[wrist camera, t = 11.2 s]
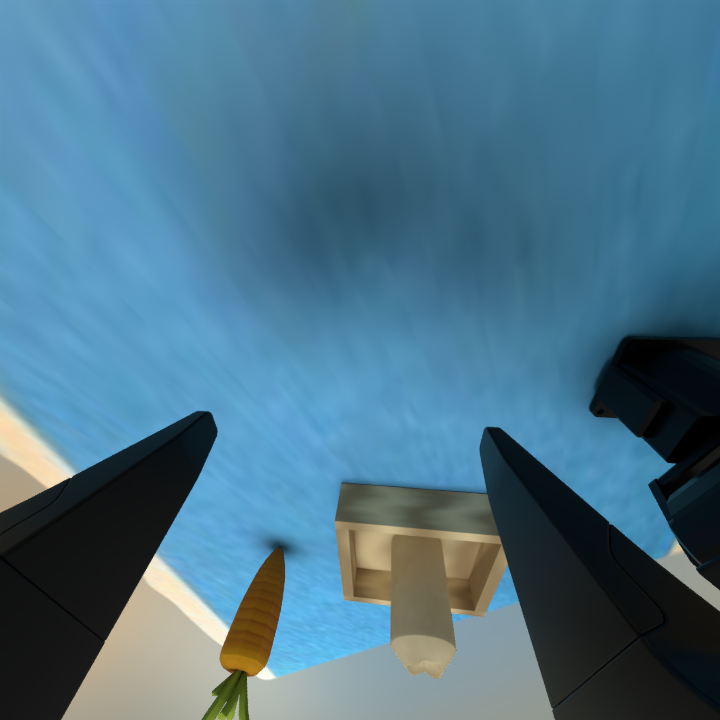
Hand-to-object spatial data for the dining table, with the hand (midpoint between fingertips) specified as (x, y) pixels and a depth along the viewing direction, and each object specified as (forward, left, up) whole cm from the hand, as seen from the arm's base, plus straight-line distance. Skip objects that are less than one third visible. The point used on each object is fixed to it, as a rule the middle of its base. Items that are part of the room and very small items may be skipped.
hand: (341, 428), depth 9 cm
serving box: (-5, +27, -12) cm, 30 cm away
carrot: (+12, +33, -12) cm, 37 cm away
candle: (-5, +27, -11) cm, 30 cm away
